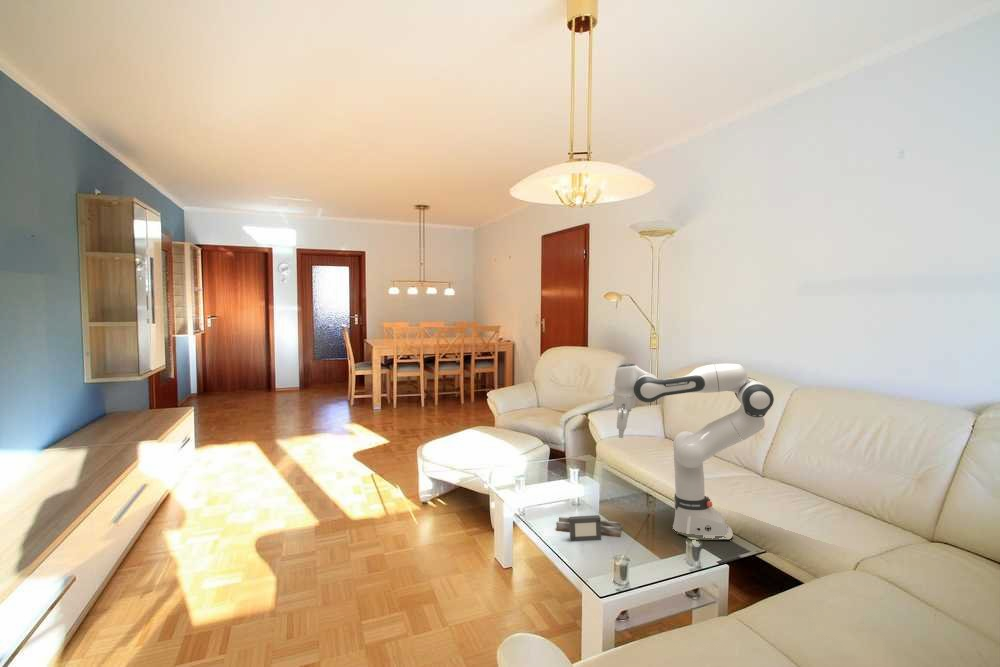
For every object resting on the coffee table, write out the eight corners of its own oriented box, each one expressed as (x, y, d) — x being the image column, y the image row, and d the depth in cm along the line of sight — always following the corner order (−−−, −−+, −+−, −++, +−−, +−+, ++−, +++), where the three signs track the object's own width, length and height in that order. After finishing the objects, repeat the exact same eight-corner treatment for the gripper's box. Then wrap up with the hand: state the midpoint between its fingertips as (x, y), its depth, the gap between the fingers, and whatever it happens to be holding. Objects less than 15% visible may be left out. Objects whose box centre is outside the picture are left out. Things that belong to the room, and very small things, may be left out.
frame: (599, 537, 194) (599, 515, 194) (601, 540, 192) (600, 517, 191) (570, 538, 194) (569, 516, 193) (571, 541, 191) (570, 519, 191)
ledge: (621, 528, 201) (621, 521, 201) (620, 537, 193) (619, 529, 193) (560, 522, 209) (559, 515, 209) (556, 530, 202) (555, 523, 202)
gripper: (631, 408, 191) (628, 442, 192) (632, 398, 211) (630, 429, 212) (614, 406, 193) (612, 440, 194) (617, 396, 212) (615, 427, 214)
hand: (621, 434), depth 203 cm, fingers open, 8 cm apart
